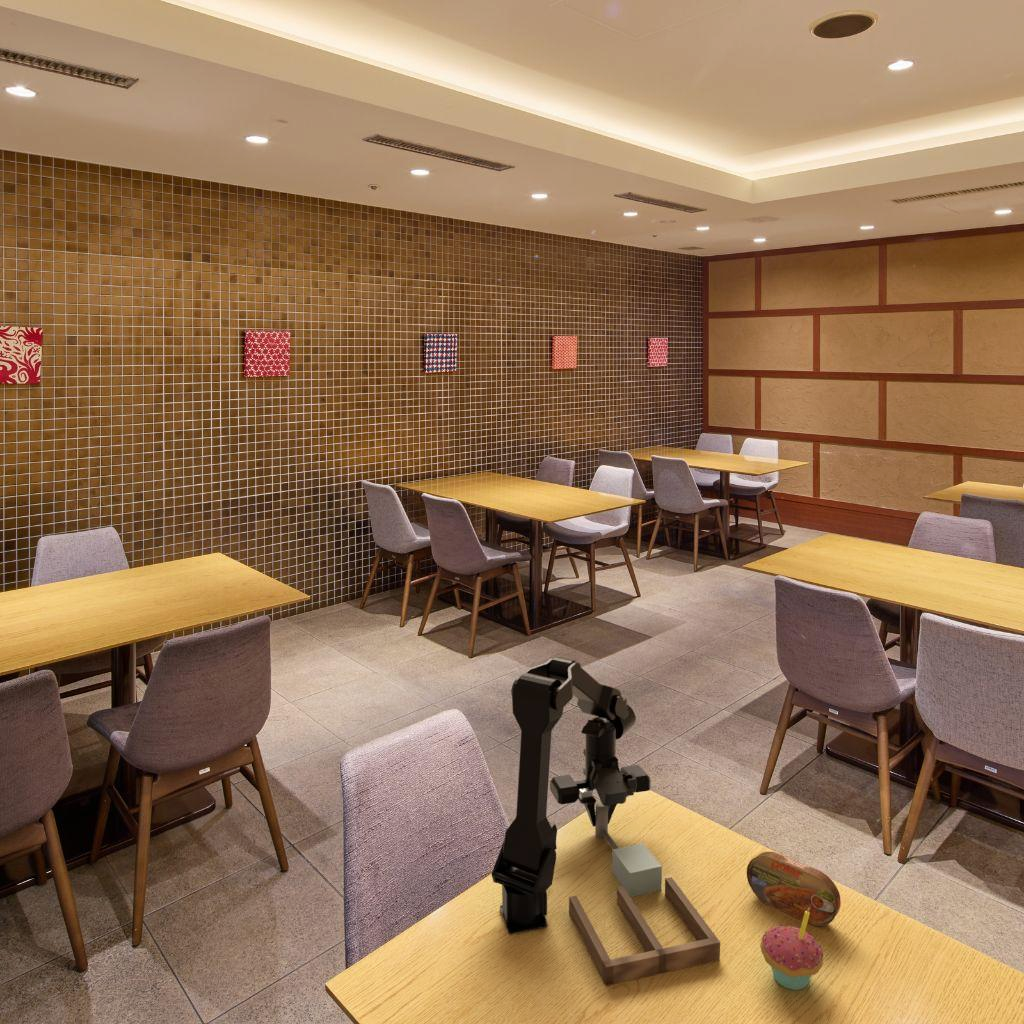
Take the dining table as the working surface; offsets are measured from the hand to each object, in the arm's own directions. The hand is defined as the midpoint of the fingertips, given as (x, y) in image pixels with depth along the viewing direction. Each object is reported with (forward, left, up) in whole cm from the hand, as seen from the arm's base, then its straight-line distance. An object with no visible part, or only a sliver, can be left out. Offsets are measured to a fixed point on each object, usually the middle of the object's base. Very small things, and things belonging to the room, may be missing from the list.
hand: (599, 824), depth 149 cm
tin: (+22, -29, -2) cm, 37 cm away
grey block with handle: (0, -9, -2) cm, 10 cm away
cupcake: (+13, -42, -2) cm, 44 cm away
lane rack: (-4, -28, -1) cm, 29 cm away
